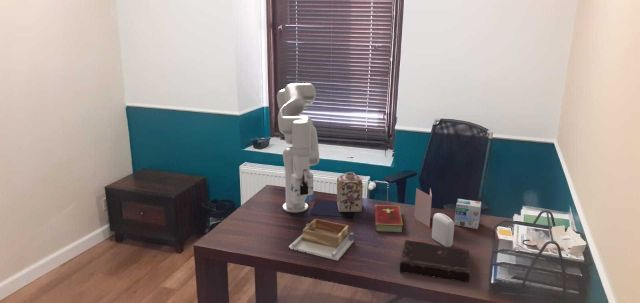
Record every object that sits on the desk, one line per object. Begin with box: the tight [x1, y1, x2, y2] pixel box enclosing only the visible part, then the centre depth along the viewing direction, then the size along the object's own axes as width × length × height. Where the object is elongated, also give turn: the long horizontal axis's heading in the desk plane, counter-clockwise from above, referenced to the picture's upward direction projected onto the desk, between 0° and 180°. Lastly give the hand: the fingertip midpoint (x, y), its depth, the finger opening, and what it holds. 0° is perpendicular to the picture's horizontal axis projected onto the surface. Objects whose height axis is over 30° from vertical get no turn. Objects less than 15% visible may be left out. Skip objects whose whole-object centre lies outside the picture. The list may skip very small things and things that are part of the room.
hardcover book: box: [374, 204, 404, 233], centre depth 211 cm, size 12×21×4 cm, turn 175°
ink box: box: [291, 172, 314, 204], centre depth 189 cm, size 9×5×12 cm, turn 120°
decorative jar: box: [336, 171, 364, 213], centre depth 224 cm, size 12×12×18 cm
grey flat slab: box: [288, 222, 355, 261], centre depth 189 cm, size 17×22×4 cm
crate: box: [302, 218, 350, 248], centre depth 192 cm, size 12×16×5 cm
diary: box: [399, 239, 471, 283], centre depth 174 cm, size 19×25×5 cm
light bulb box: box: [453, 198, 482, 230], centre depth 207 cm, size 11×7×11 cm, turn 68°
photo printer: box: [431, 212, 455, 247], centre depth 190 cm, size 10×4×12 cm, turn 26°
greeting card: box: [413, 187, 434, 228], centre depth 209 cm, size 11×7×15 cm, turn 170°
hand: (302, 191), depth 190 cm, fingers closed on ink box, 5 cm apart
